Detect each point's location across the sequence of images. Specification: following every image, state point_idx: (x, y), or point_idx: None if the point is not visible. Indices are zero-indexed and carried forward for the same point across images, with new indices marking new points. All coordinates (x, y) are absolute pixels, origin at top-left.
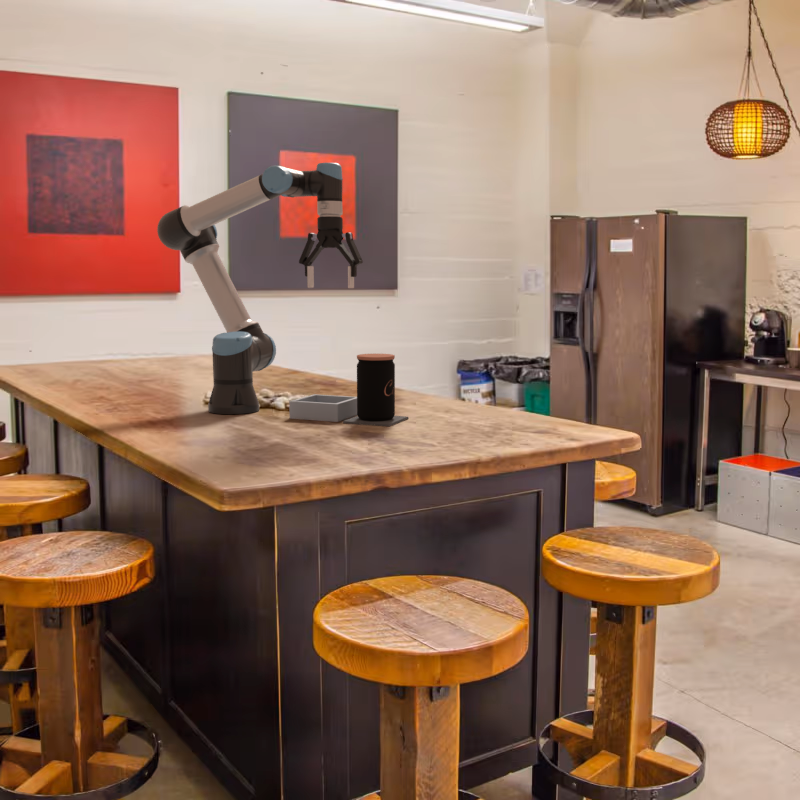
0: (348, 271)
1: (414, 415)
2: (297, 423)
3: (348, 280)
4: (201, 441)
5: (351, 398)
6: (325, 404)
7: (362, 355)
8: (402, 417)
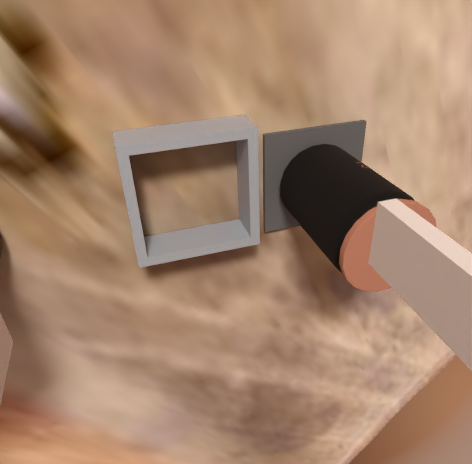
0: (464, 355)
1: (365, 70)
2: (186, 275)
3: (408, 298)
4: (154, 431)
5: (236, 139)
6: (231, 248)
7: (360, 272)
8: (357, 137)
